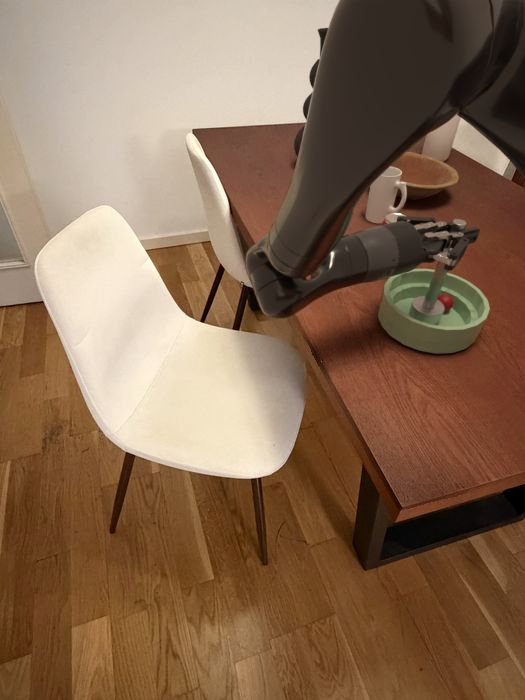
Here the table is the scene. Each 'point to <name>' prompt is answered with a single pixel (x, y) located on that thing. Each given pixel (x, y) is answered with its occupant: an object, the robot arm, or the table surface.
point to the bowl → (424, 175)
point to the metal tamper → (434, 290)
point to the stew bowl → (455, 323)
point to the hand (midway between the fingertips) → (469, 230)
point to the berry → (446, 301)
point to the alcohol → (441, 140)
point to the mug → (385, 195)
